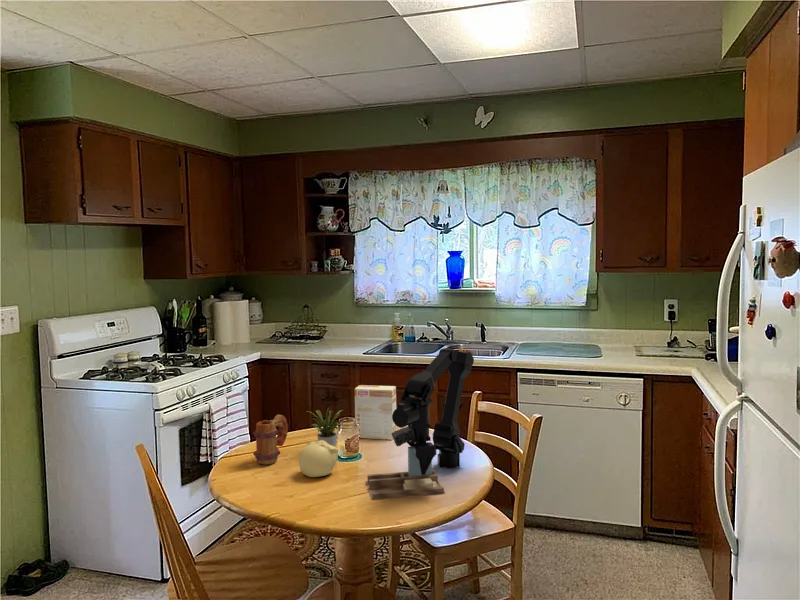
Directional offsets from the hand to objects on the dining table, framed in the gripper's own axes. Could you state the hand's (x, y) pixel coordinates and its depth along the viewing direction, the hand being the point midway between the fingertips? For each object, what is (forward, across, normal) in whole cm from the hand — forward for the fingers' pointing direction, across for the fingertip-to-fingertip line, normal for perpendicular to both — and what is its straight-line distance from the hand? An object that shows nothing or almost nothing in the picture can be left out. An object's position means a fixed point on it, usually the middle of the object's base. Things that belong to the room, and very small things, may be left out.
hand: (420, 469), depth 188 cm
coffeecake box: (+5, -51, -6) cm, 52 cm away
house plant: (+5, -37, -28) cm, 46 cm away
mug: (+5, -32, -46) cm, 56 cm away
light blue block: (+4, 0, 0) cm, 4 cm away
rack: (+5, +3, -6) cm, 8 cm away
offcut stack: (+4, +6, -1) cm, 7 cm away
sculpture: (+5, -16, -30) cm, 35 cm away
